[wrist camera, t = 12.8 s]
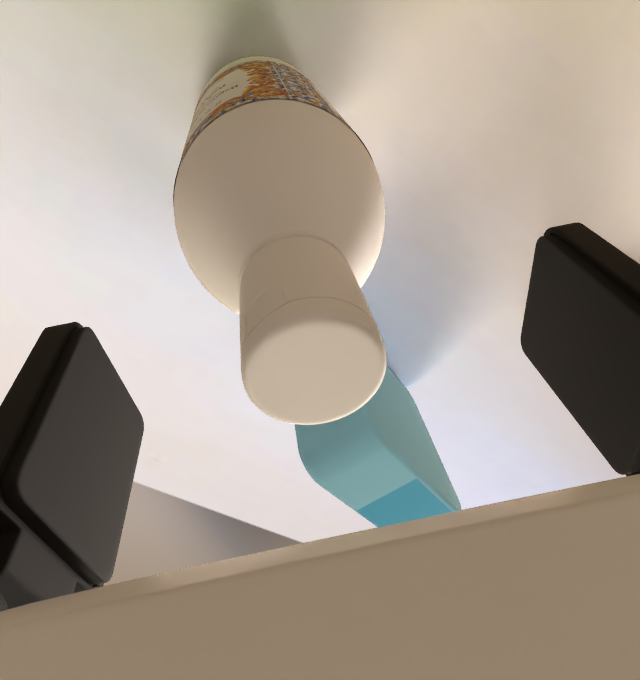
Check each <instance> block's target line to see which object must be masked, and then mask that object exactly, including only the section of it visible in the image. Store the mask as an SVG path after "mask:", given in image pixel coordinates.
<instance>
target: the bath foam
mask: <svg viewBox="0 0 640 680" xmlns="http://www.w3.org/2000/svg"><path fill="white" fill-rule="evenodd" d="M173 204H174V217H175V225H176V230H177V235H178V238H179V242H180V245H181V248H182V251H183V253H184V256H185V258H186V260H187V262H188V264H189V266H190V268H191V270H192V271H193V273H194V274H195V276H196V277H197V279H198V280H199V281H200V283H201V284H202V285H203V286H204V288H205V289H206V290H207V291H208V292H209V293H210V294H211V295H212V296H213V297H214V298H216V299H217V300H218V301H219V302H220V303H222V304H223V305H224V306H226V307H227V308H229V309H230V310H232V311H233V312H235V313H237V314H239V315H240V348H241V373H242V380H243V384H244V387H245V390H246V392H247V394H248V396H249V398H250V399H251V401H252V402H253V403H254V404H255V405H256V406H257V407H258V408H259V409H260V410H261V411H262V412H264V413H265V414H267V415H269V416H271V417H273V418H275V419H277V420H280V421H283V422H286V423H291V424H298V425H315V424H322V423H327V422H331V421H335V420H338V419H340V418H343V417H345V416H347V415H349V414H351V413H353V412H355V411H356V410H358V409H359V408H360V407H362V406H363V405H364V404H365V403H367V402H368V401H369V400H370V399H371V397H372V396H373V395H374V394H375V393H376V391H377V390H378V388H379V387H380V385H381V383H382V381H383V378H384V375H385V371H386V362H387V358H386V350H385V346H384V343H383V340H382V337H381V335H380V333H379V330H378V328H377V326H376V323H375V321H374V319H373V316H372V314H371V312H370V309H369V307H368V305H367V302H366V300H365V298H364V295H363V293H362V291H361V289H360V288H361V287H362V286H363V284H364V283H365V281H366V280H367V278H368V277H369V275H370V273H371V271H372V269H373V267H374V265H375V263H376V260H377V258H378V255H379V252H380V249H381V245H382V240H383V234H384V227H385V206H384V198H383V192H382V187H381V183H380V180H379V176H378V173H377V170H376V168H375V165H374V163H373V160H372V158H371V156H370V154H369V152H368V150H367V148H366V147H365V145H364V144H363V142H362V141H361V139H360V138H359V137H358V136H357V134H356V133H355V132H354V131H353V130H352V129H351V127H350V126H349V125H348V124H347V123H346V122H345V120H344V119H343V118H342V117H341V116H340V115H339V113H338V112H337V111H336V110H335V109H334V108H333V106H332V105H331V104H330V103H329V102H328V101H327V99H326V98H325V97H324V96H323V95H322V94H321V92H320V91H319V90H318V89H317V88H316V87H315V85H314V84H313V83H312V82H311V81H310V80H309V79H308V78H307V77H306V76H305V75H304V74H303V73H302V72H300V71H299V70H298V69H296V68H295V67H293V66H292V65H290V64H288V63H286V62H284V61H281V60H279V59H276V58H271V57H265V56H252V57H246V58H242V59H238V60H236V61H233V62H231V63H229V64H227V65H226V66H224V67H223V68H221V69H220V70H219V71H218V72H217V73H216V74H215V75H214V76H213V77H212V78H211V79H210V80H209V82H208V83H207V84H206V86H205V88H204V89H203V91H202V93H201V95H200V98H199V101H198V104H197V106H196V109H195V112H194V116H193V119H192V123H191V126H190V130H189V133H188V137H187V140H186V144H185V147H184V150H183V154H182V157H181V161H180V164H179V168H178V171H177V175H176V179H175V185H174V194H173Z"/></svg>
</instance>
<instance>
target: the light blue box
mask: <svg viewBox="0 0 640 680" xmlns="http://www.w3.org/2000/svg"><path fill="white" fill-rule="evenodd" d="M295 430H296V437H297V443H298V450H299V454H300V457H301V460H302V462H303V464H304V466H305V468H306V470H307V471H308V473H309V474H310V476H311V477H312V478H313V479H314V481H315V482H316V483H318V484H319V485H320V486H322V487H323V488H324V489H326V490H327V491H329V492H330V493H331V494H333V495H334V496H335V497H337V498H338V499H340V500H341V501H342V502H344V503H345V504H347V505H348V506H349V507H351V508H352V509H354V510H355V511H356V512H358V513H359V514H360V515H362V516H363V517H365V518H366V519H367V520H369V521H370V522H372V523H373V524H374V525H376V526H377V527H383V526H388V525H392V524H397V523H402V522H407V521H412V520H416V519H421V518H426V517H431V516H436V515H441V514H445V513H450V512H455V511H460V510H461V506H460V502H459V500H458V497H457V495H456V493H455V491H454V488H453V486H452V484H451V482H450V480H449V477H448V475H447V473H446V471H445V468H444V466H443V464H442V462H441V459H440V457H439V455H438V453H437V451H436V448H435V446H434V444H433V442H432V439H431V437H430V435H429V433H428V430H427V428H426V426H425V424H424V422H423V419H422V417H421V415H420V413H419V410H418V408H417V406H416V404H415V402H414V400H413V398H412V396H411V395H410V393H409V391H408V390H407V389H406V387H405V386H404V385H403V383H402V382H401V381H400V380H399V379H398V378H397V377H396V375H395V374H394V373H393V372H392V371H391V370H390V369H389V367H388V366H387V365H386V371H385V375H384V378H383V381H382V383H381V385H380V387H379V388H378V390H377V391H376V393H375V394H374V395H373V396H372V397H371V399H370V400H369V401H368V402H367V403H365V404H364V405H363V406H362V407H360V408H359V409H358V410H356V411H355V412H353V413H351V414H349V415H347V416H345V417H343V418H340V419H338V420H335V421H331V422H327V423H322V424H315V425H298V424H295Z"/></svg>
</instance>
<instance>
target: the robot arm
mask: <svg viewBox="0 0 640 680" xmlns="http://www.w3.org/2000/svg"><path fill="white" fill-rule="evenodd" d="M521 345H522V349H523V351H524V353H525V355H526V356H527V357H528V358H529V360H530V361H531V362H532V364H533V365H534V366H535V368H536V369H537V370H538V371H539V373H540V374H541V375H542V377H543V378H544V379H545V381H546V382H547V383H548V384H549V386H550V387H551V388H552V390H553V391H554V392H555V394H556V395H557V396H558V398H559V399H560V400H561V401H562V403H563V404H564V405H565V407H566V408H567V409H568V411H569V412H570V413H571V414H572V416H573V417H574V418H575V420H576V421H577V422H578V424H579V425H580V426H581V427H582V429H583V430H584V431H585V433H586V434H587V435H588V437H589V438H590V439H591V440H592V442H593V443H594V444H595V446H596V447H597V448H598V450H599V451H600V452H601V453H602V455H603V456H604V457H605V459H606V460H607V461H608V463H609V464H610V465H611V467H612V468H613V469H614V470H615V471H616V472H618V473H619V474H622V475H624V474H625V475H626V476H627V477H622V478H617V479H612V480H607V481H602V482H597V483H592V484H587V485H582V486H577V487H573V488H568V489H563V490H558V491H553V492H548V493H543V494H538V495H533V496H528V497H523V498H518V499H513V500H509V501H504V502H499V503H494V504H489V505H484V506H479V507H474V508H469V509H465V510H460V511H455V512H450V513H445V514H441V515H436V516H431V517H426V518H421V519H416V520H412V521H407V522H402V523H397V524H392V525H388V526H383V527H378V528H373V529H368V530H364V531H359V532H354V533H349V534H345V535H340V536H335V537H330V538H325V539H321V540H316V541H311V542H306V543H302V544H297V545H292V546H288V547H283V548H278V549H273V550H269V551H264V552H260V553H255V554H250V555H246V556H241V557H236V558H231V559H227V560H222V561H217V562H213V563H208V564H204V565H199V566H194V567H189V568H185V569H180V570H175V571H170V572H166V573H161V574H156V575H152V576H147V577H142V578H138V579H134V580H129V581H125V582H120V583H116V584H112V585H107V586H103V584H104V583H106V582H108V581H109V580H110V579H111V577H112V574H113V571H114V566H115V562H116V557H117V552H118V548H119V543H120V538H121V533H122V529H123V524H124V520H125V515H126V510H127V505H128V501H129V497H130V492H131V487H132V483H133V478H134V473H135V469H136V464H137V459H138V455H139V450H140V445H141V441H142V436H143V431H144V423H143V418H142V416H141V413H140V412H139V410H138V408H137V406H136V405H135V403H134V401H133V400H132V398H131V396H130V394H129V393H128V391H127V389H126V387H125V386H124V384H123V382H122V380H121V379H120V377H119V375H118V373H117V372H116V370H115V368H114V366H113V365H112V363H111V361H110V359H109V358H108V356H107V354H106V353H105V351H104V349H103V347H102V346H101V344H100V342H99V340H98V339H97V337H96V335H95V333H94V332H93V330H92V329H91V328H89V327H83V326H82V325H80V324H79V323H77V322H72V323H67V324H62V325H57V326H52V327H48V328H45V329H44V330H43V332H42V334H41V335H40V337H39V339H38V341H37V342H36V344H35V346H34V348H33V349H32V351H31V353H30V355H29V357H28V358H27V360H26V362H25V364H24V365H23V367H22V369H21V371H20V372H19V374H18V376H17V378H16V379H15V381H14V383H13V385H12V387H11V388H10V390H9V392H8V394H7V395H6V397H5V399H4V401H3V402H2V404H1V406H0V680H640V264H638V263H637V262H636V261H634V260H633V259H631V258H630V257H628V256H627V255H626V254H624V253H623V252H621V251H620V250H619V249H617V248H616V247H614V246H613V245H611V244H610V243H609V242H607V241H606V240H604V239H603V238H601V237H600V236H599V235H597V234H596V233H594V232H593V231H592V230H590V229H589V228H587V227H586V226H584V225H583V224H581V223H579V222H578V223H571V224H566V225H561V226H556V227H551V228H549V229H547V230H546V232H545V233H544V236H542V237H540V238H539V239H538V240H537V243H536V248H535V254H534V260H533V266H532V272H531V278H530V284H529V290H528V296H527V302H526V308H525V315H524V321H523V327H522V333H521Z"/></svg>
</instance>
